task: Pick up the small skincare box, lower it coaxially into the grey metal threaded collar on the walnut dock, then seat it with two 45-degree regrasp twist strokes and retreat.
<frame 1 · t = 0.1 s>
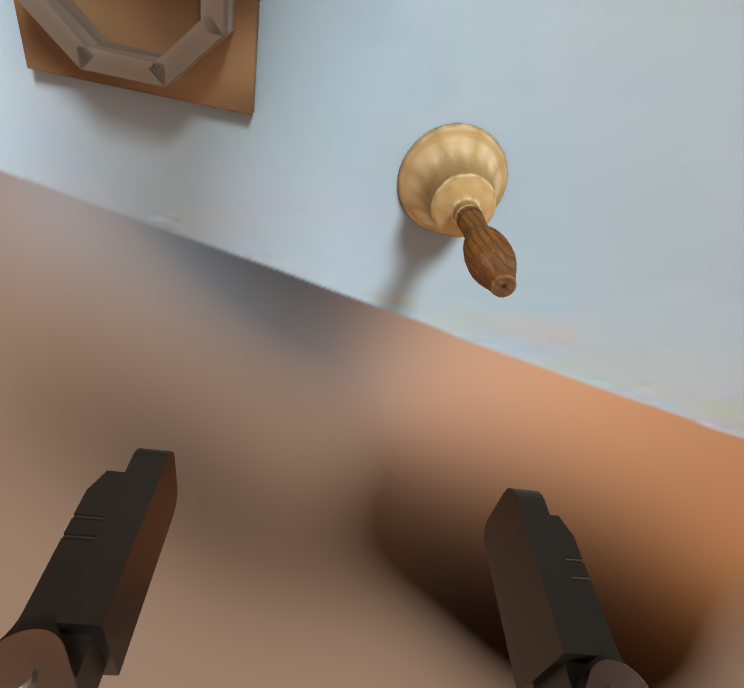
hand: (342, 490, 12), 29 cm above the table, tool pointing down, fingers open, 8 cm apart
hand bell: (451, 180, 37), on the table
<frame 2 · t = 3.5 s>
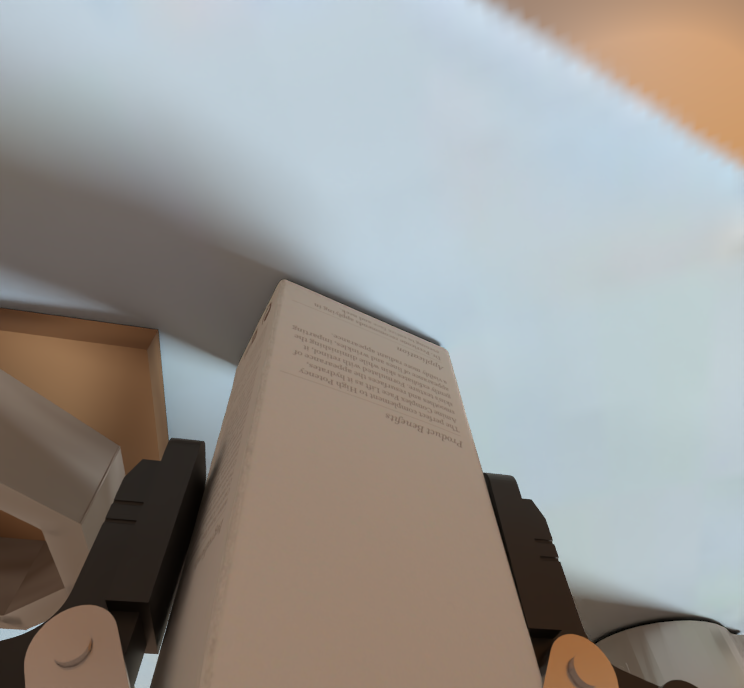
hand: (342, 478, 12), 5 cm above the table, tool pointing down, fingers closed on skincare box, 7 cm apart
skincare box: (347, 351, 16), on the table, touching gripper
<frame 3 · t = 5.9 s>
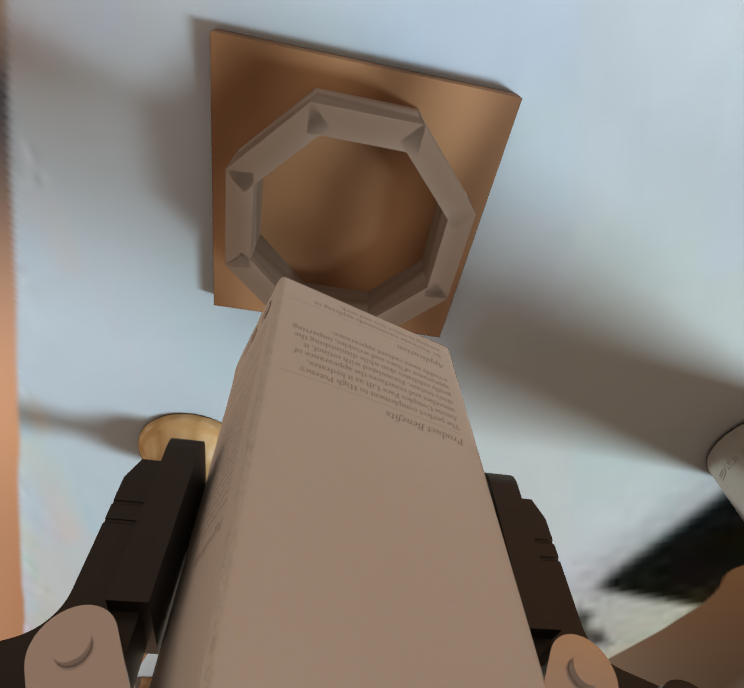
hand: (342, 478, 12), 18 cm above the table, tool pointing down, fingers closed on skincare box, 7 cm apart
skincare box: (347, 349, 16), point 13 cm above the table, touching gripper
collar dock: (348, 207, 26), on the table
hand bell: (194, 447, 38), on the table
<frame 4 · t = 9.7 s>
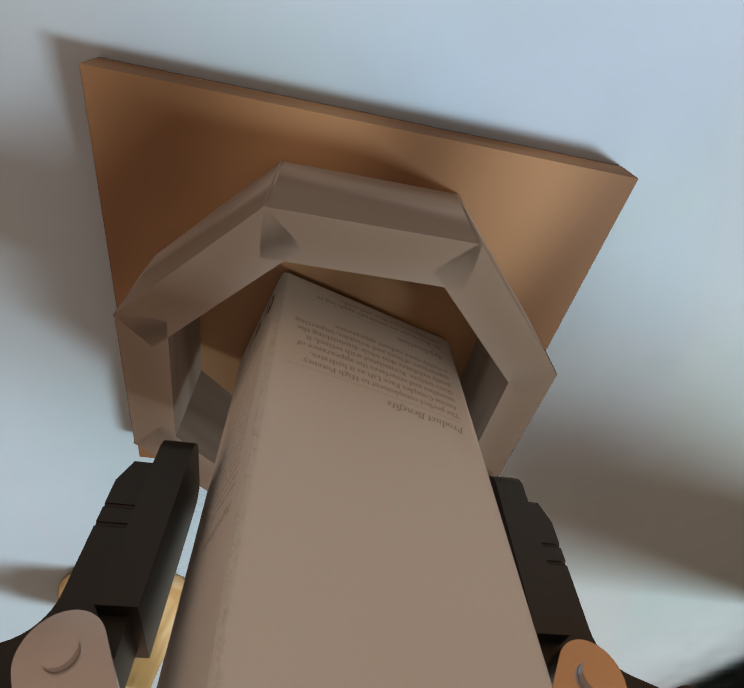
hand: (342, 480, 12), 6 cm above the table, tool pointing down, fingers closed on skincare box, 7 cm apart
skincare box: (349, 343, 16), point 1 cm above the table, touching collar dock, gripper
collar dock: (339, 327, 17), on the table
hand bell: (136, 593, 29), on the table
when the fingers open (7 cm above the table, at t = 11.5 s): skincare box stays where it is, resting on collar dock.
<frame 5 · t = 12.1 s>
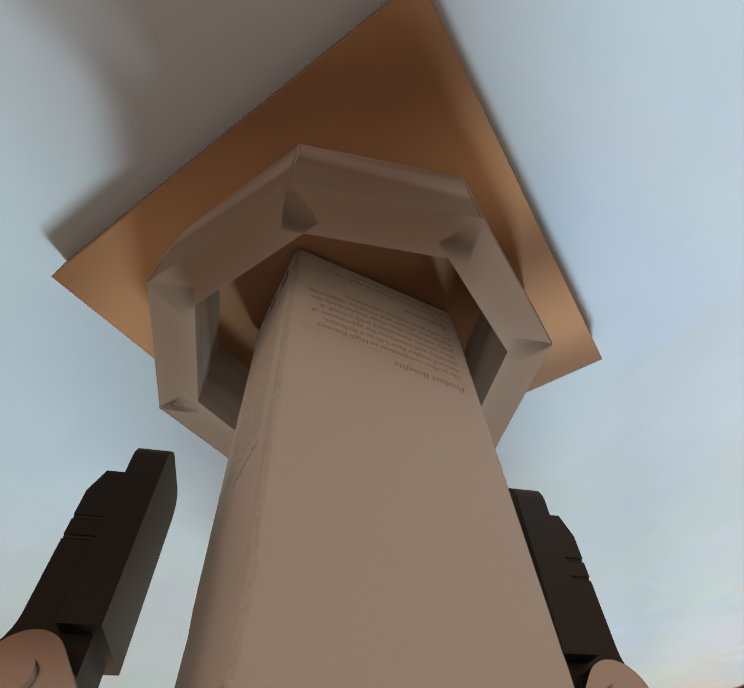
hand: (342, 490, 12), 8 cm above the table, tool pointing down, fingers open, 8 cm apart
skincare box: (358, 318, 17), point 1 cm above the table, touching collar dock
collar dock: (349, 305, 18), on the table
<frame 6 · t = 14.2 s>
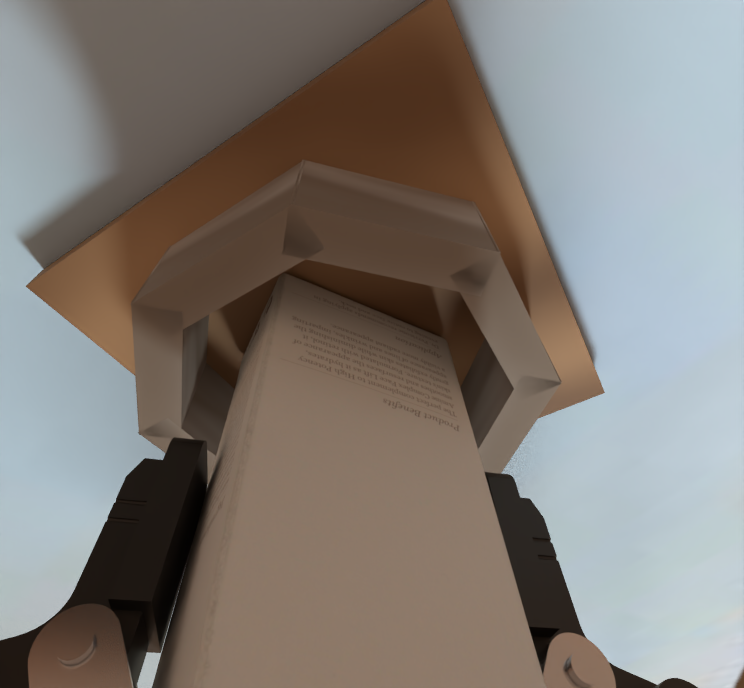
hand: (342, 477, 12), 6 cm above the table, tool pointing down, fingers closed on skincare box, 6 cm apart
skincare box: (348, 343, 16), point 1 cm above the table, touching gripper
collar dock: (346, 327, 17), on the table
when the fingers open (7 cm above the table, at t = 15.0 s): skincare box stays where it is, resting on collar dock.
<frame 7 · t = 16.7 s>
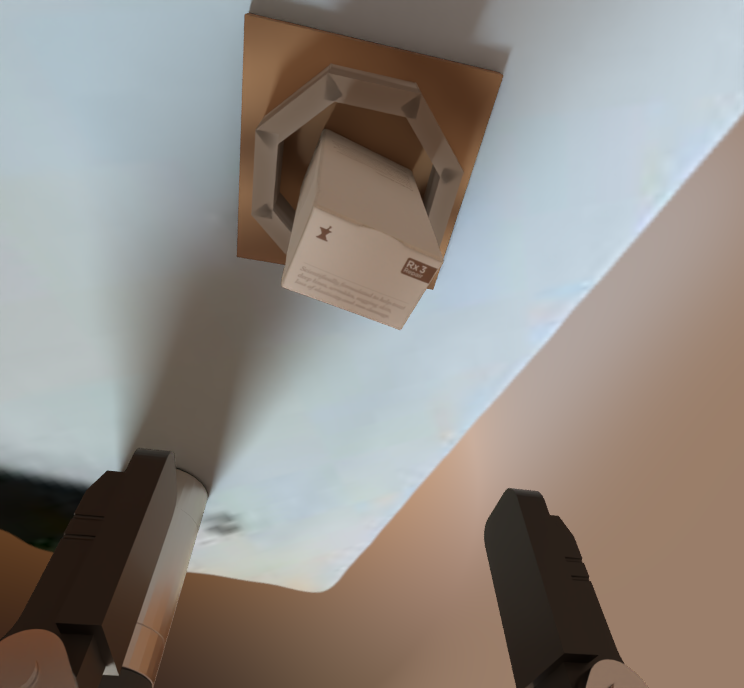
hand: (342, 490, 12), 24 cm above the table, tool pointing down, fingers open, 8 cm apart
skincare box: (358, 177, 30), point 1 cm above the table, touching collar dock
collar dock: (355, 170, 30), on the table
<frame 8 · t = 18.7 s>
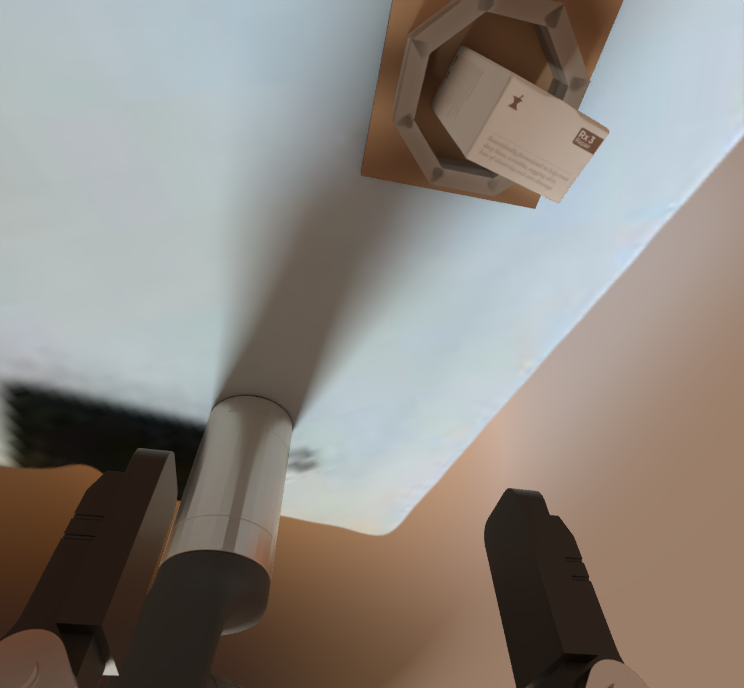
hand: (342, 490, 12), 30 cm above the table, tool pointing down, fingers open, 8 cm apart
skincare box: (482, 95, 33), point 1 cm above the table, touching collar dock
collar dock: (477, 90, 33), on the table
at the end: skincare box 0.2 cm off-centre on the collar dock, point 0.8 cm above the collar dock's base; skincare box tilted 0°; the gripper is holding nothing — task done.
